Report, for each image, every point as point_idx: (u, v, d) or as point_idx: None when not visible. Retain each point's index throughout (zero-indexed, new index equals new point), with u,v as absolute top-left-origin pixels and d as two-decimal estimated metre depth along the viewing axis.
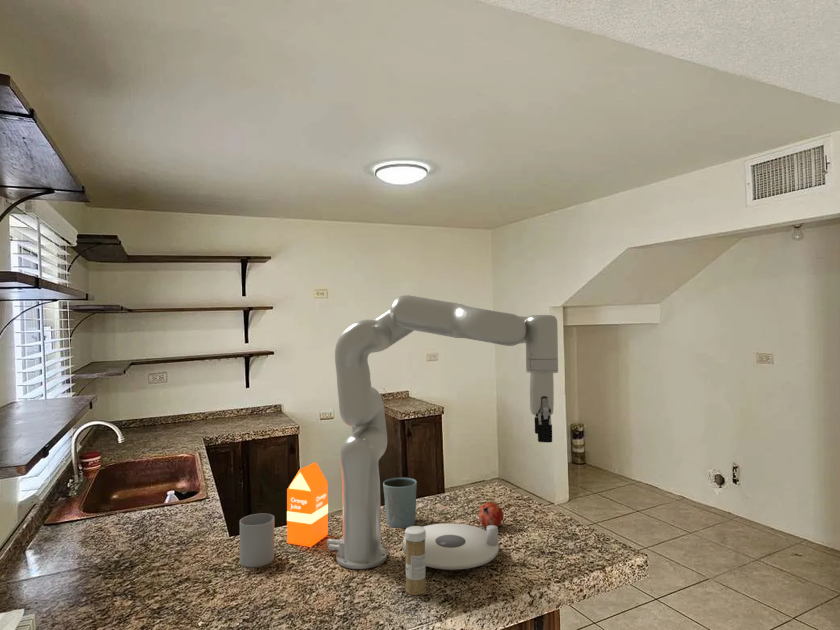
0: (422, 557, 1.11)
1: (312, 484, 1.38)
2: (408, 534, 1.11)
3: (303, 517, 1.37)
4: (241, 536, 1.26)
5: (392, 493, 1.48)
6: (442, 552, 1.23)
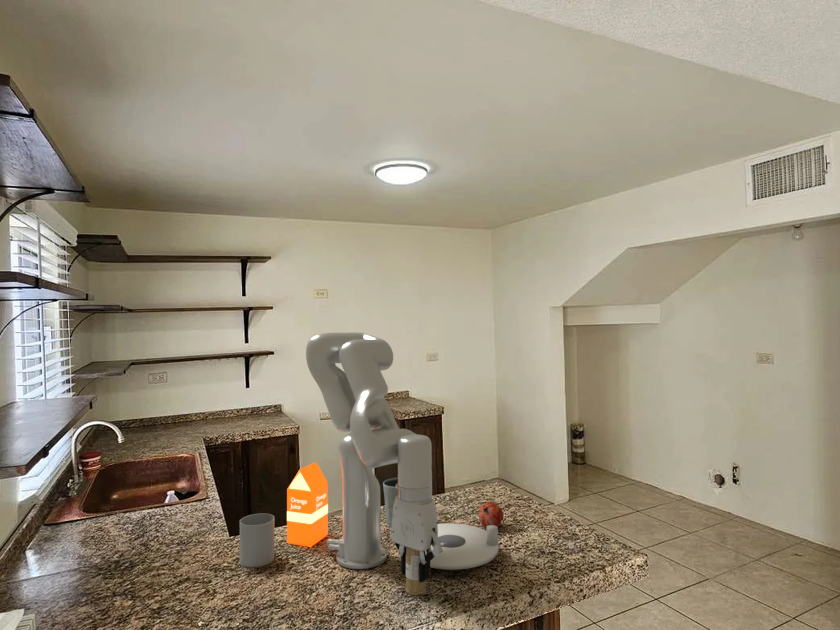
0: None
1: (312, 484, 1.38)
2: None
3: (303, 517, 1.37)
4: (241, 536, 1.26)
5: (392, 493, 1.48)
6: (442, 552, 1.23)
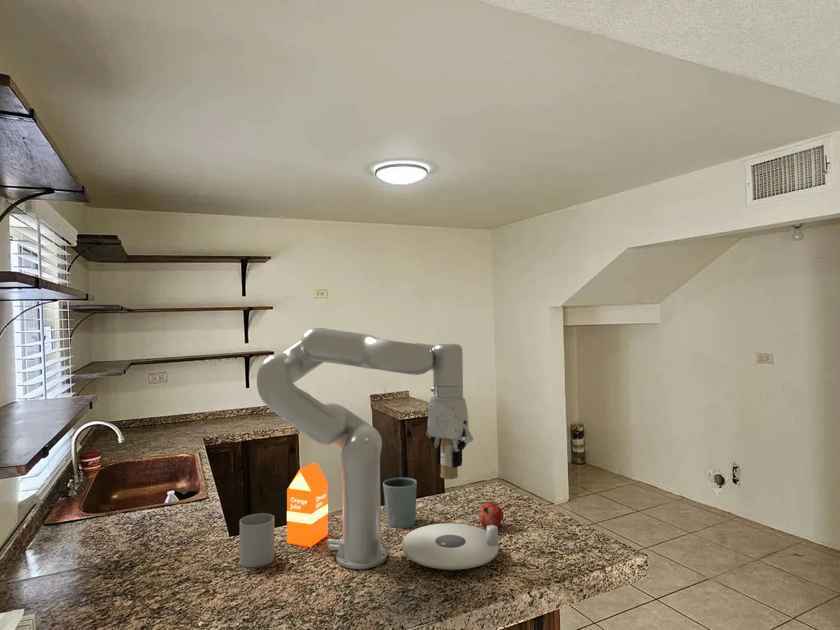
0: None
1: (312, 484, 1.38)
2: None
3: (303, 517, 1.37)
4: (241, 536, 1.26)
5: (392, 493, 1.48)
6: (442, 552, 1.23)
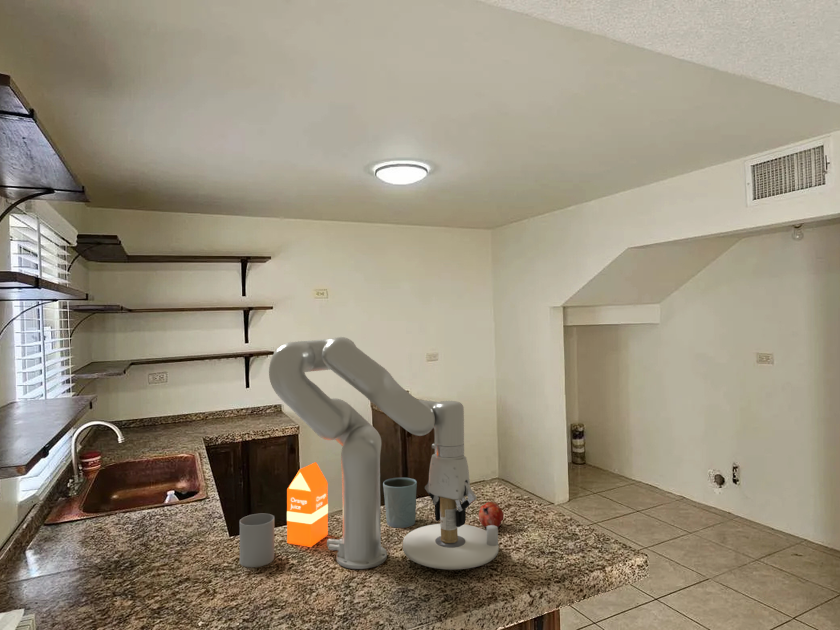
0: (455, 510, 1.28)
1: (312, 484, 1.38)
2: None
3: (303, 517, 1.37)
4: (241, 536, 1.26)
5: (392, 493, 1.48)
6: (442, 552, 1.23)
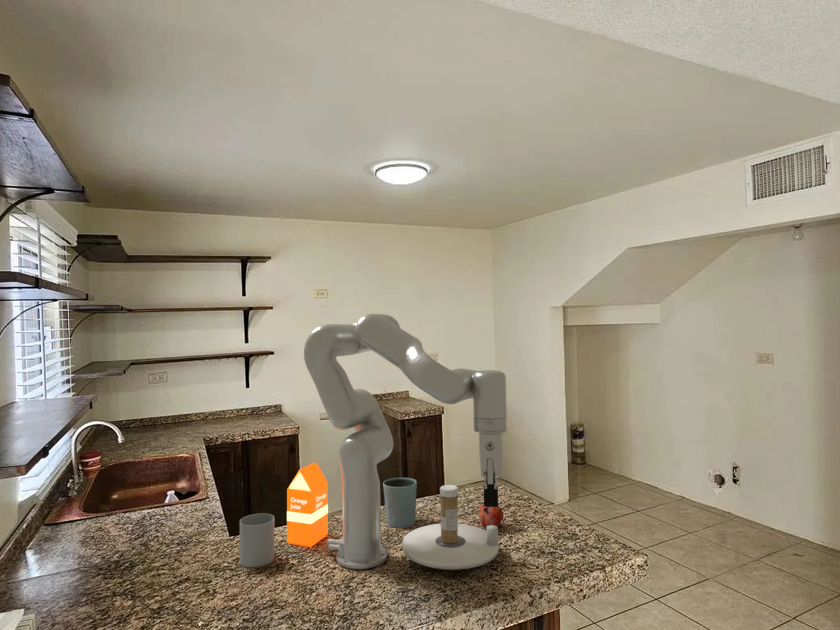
0: (455, 510, 1.28)
1: (312, 484, 1.38)
2: (443, 490, 1.28)
3: (303, 517, 1.37)
4: (241, 536, 1.26)
5: (392, 493, 1.48)
6: (442, 552, 1.23)
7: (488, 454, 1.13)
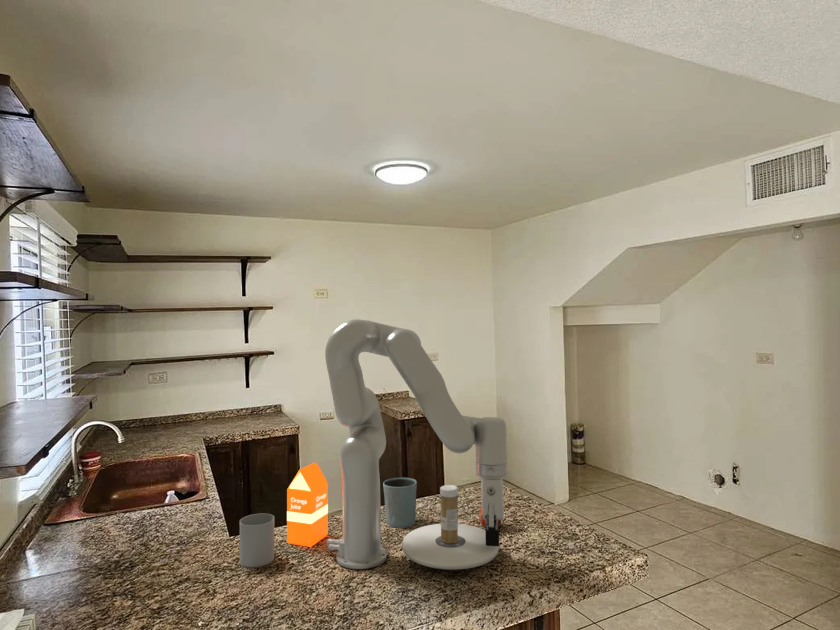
0: (456, 510, 1.28)
1: (312, 484, 1.38)
2: (444, 490, 1.28)
3: (303, 517, 1.37)
4: (241, 536, 1.26)
5: (392, 493, 1.48)
6: (444, 552, 1.23)
7: (489, 499, 1.20)
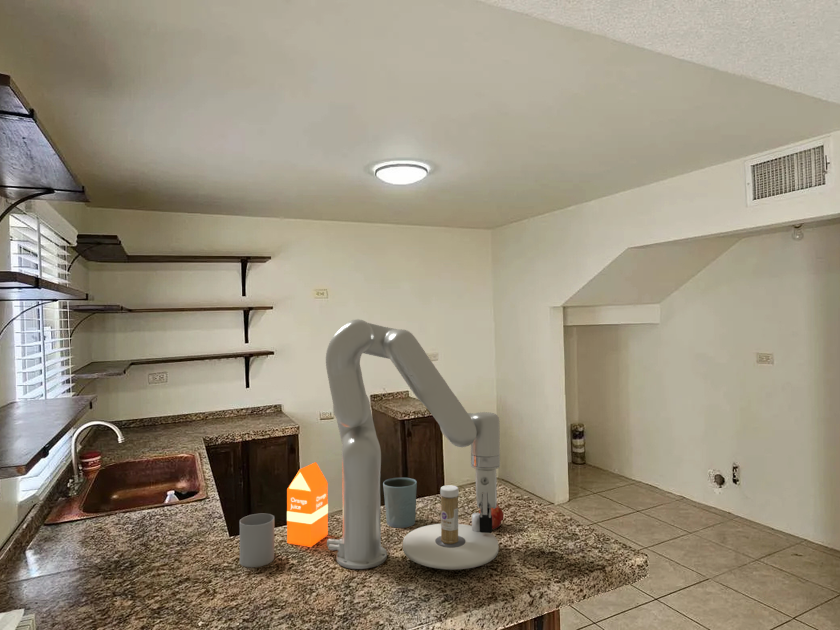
0: None
1: (312, 484, 1.38)
2: (452, 491, 1.27)
3: (303, 517, 1.37)
4: (241, 536, 1.26)
5: (392, 493, 1.48)
6: (467, 550, 1.23)
7: (483, 488, 1.29)
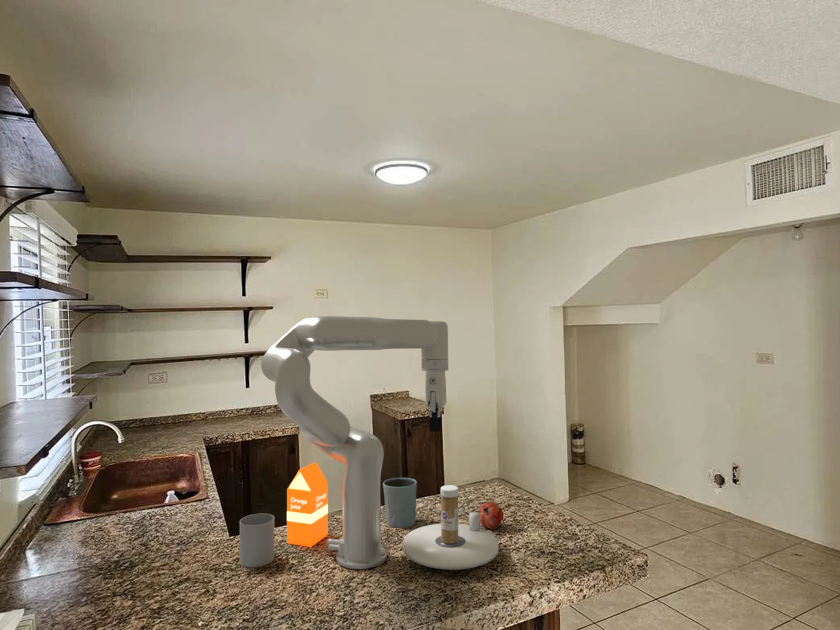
0: None
1: (312, 484, 1.38)
2: (452, 491, 1.27)
3: (303, 517, 1.37)
4: (241, 536, 1.26)
5: (392, 493, 1.48)
6: (469, 550, 1.24)
7: (431, 387, 1.38)
